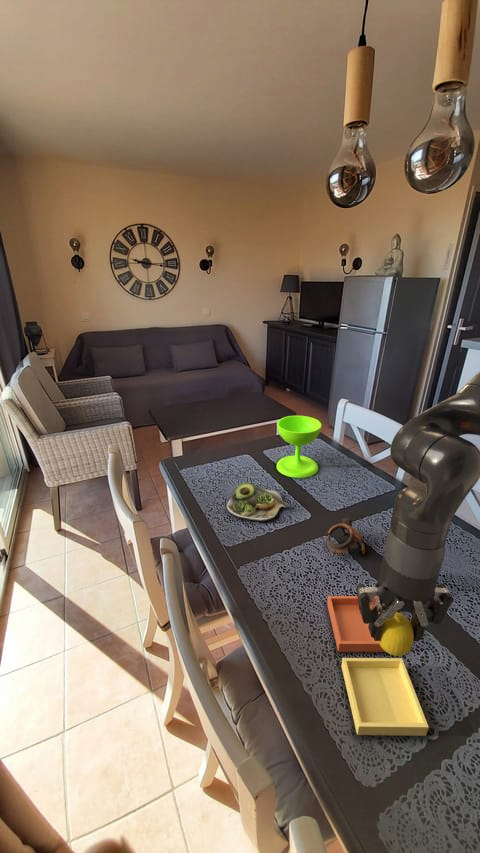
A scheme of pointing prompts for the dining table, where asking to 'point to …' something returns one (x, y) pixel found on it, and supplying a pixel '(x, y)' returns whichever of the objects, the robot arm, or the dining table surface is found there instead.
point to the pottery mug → (349, 532)
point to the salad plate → (254, 503)
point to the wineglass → (298, 445)
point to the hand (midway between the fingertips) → (394, 635)
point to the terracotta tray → (351, 625)
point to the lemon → (397, 635)
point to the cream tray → (383, 697)
